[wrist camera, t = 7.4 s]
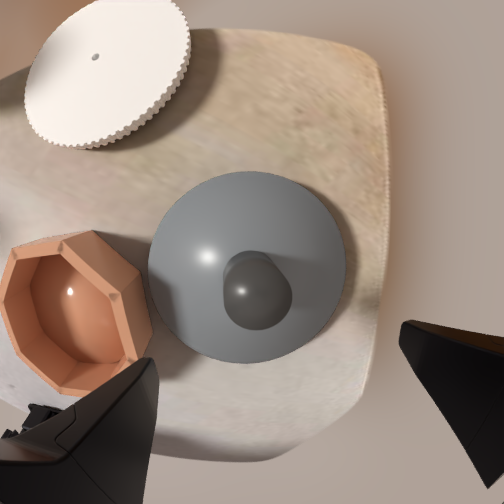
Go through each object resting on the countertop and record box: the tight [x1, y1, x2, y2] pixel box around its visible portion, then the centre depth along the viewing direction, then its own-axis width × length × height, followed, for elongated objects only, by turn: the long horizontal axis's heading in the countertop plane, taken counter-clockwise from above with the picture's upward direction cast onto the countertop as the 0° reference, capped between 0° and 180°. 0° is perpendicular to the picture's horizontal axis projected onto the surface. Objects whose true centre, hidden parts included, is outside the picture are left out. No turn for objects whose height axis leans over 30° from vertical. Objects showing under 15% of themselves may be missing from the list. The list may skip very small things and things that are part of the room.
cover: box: [148, 172, 346, 364], centre depth 16 cm, size 14×14×5 cm
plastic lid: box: [24, 0, 191, 149], centre depth 14 cm, size 14×14×2 cm
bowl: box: [0, 230, 153, 397], centre depth 17 cm, size 12×12×4 cm
